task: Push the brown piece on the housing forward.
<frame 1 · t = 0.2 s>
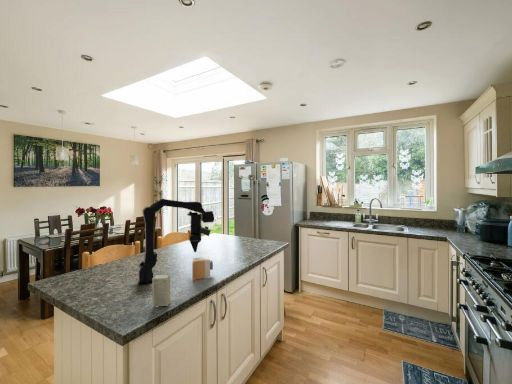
hand: (195, 250, 142), 14 cm above the worktop, tool pointing down, fingers open, 9 cm apart
skincare box: (161, 305, 104), on the worktop
brown piece: (198, 270, 132), point 5 cm above the worktop, slide at 0.0 cm
housing: (201, 276, 137), on the worktop
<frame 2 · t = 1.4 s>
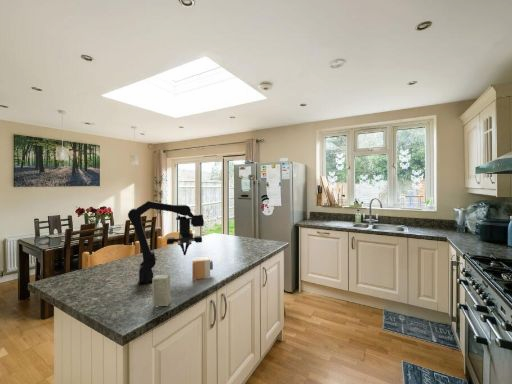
hand: (184, 255, 137), 12 cm above the worktop, tool pointing down, fingers closed
nothing on the worktop moved.
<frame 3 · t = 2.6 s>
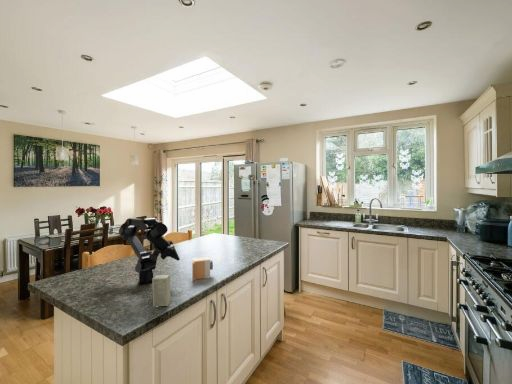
hand: (179, 259, 129), 12 cm above the worktop, tool tilted 45°, fingers closed
nothing on the worktop moved.
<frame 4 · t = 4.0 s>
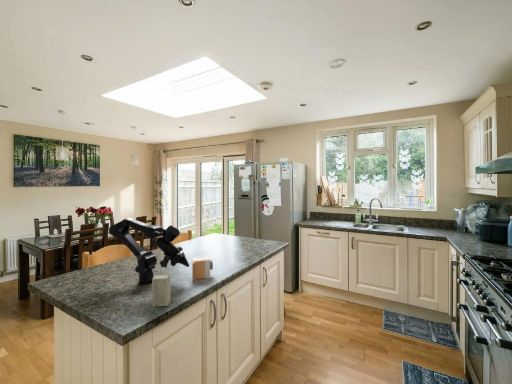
hand: (188, 266, 129), 8 cm above the worktop, tool tilted 45°, fingers closed
nothing on the worktop moved.
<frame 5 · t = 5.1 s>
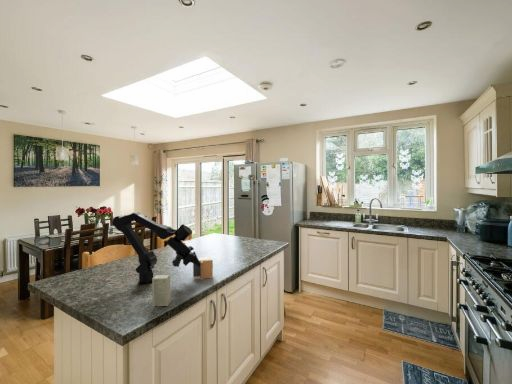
hand: (200, 265, 131), 8 cm above the worktop, tool tilted 45°, fingers closed, pressing on brown piece
brown piece: (206, 270, 133), point 5 cm above the worktop, slide at 4.2 cm, touching gripper
everything else where it was.
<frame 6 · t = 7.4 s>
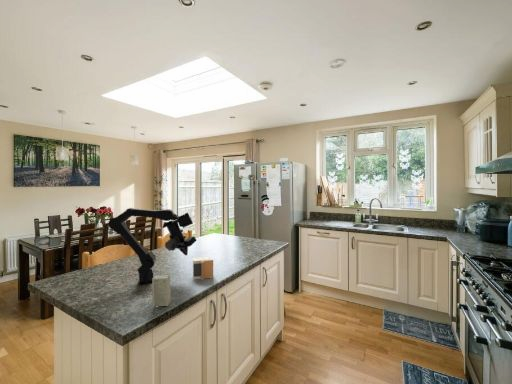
hand: (186, 255, 137), 12 cm above the worktop, tool tilted 25°, fingers closed
brown piece: (207, 269, 133), point 5 cm above the worktop, slide at 4.6 cm
everything else where it was.
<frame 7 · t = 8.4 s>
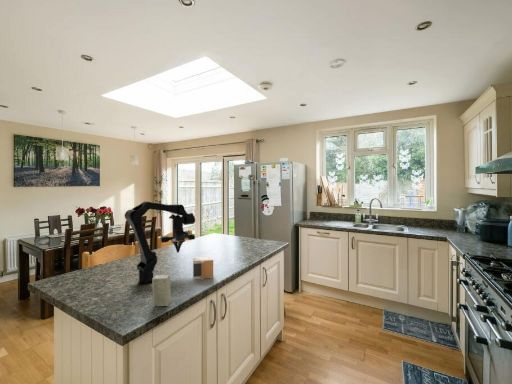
hand: (177, 252, 143), 12 cm above the worktop, tool pointing down, fingers closed
nothing on the worktop moved.
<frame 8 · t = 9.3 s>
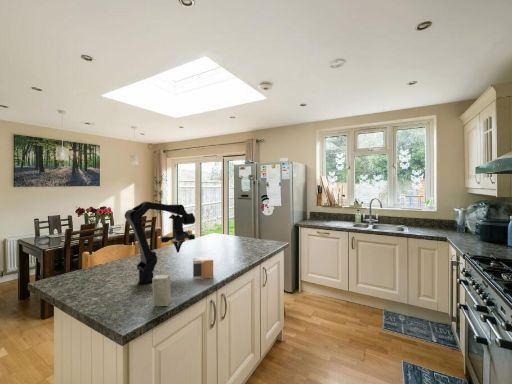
hand: (177, 252, 143), 12 cm above the worktop, tool pointing down, fingers closed
nothing on the worktop moved.
at the end: brown piece slide at 4.6 cm; skincare box moved 0.2 cm from its start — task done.
